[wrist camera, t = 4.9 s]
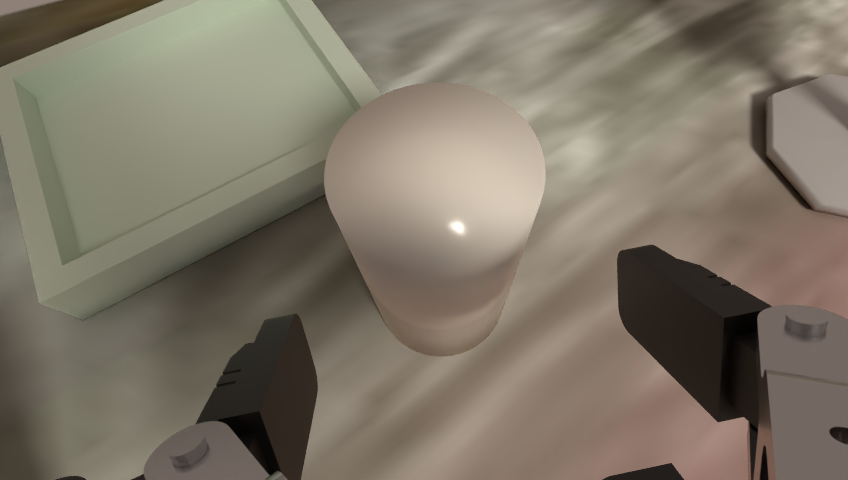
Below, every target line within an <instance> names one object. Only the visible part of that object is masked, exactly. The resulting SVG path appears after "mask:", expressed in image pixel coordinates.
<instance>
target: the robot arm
mask: <svg viewBox="0 0 848 480" xmlns="http://www.w3.org/2000/svg"><path fill="white" fill-rule="evenodd" d="M617 274H618V307H619V314H620V317H621V320H622V323H623V325H624V327H625V328H626V330H627V331H628V332H629V333H630V334H631V335H632V336H633V337H634V338H635V339H636V340H637V341H638V342H639V343H640V344H641V345H642V346H643V347H644V348H645V349H646V350H647V351H648V352H649V353H650V354H651V355H652V356H653V357H654V358H655V359H656V360H657V361H658V362H659V363H660V365H661V366H662V367H663V368H664V369H665V370H666V371H667V372H668V373H669V374H670V375H671V376H672V377H673V378H674V379H675V380H676V381H677V382H678V383H679V384H680V385H681V386H682V387H683V388H684V389H685V390H686V391H687V392H688V393H689V394H690V395H691V396H692V397H693V398H694V399H695V400H696V401H697V402H698V403H699V404H700V405H701V406H702V407H703V408H704V409H705V410H706V411H707V412H708V413H709V414H710V415H711V416H712V417H713V418H714V419H715V420H716V421H717V422H721V421H726V420H731V419H735V418H740V417H745V418H746V419H747V420H748V433H747V449H748V480H848V319H846V318H844V317H842V316H840V315H838V314H835V313H833V312H830V311H827V310H823V309H819V308H814V307H809V306H801V305H780V306H774V307H772V306H770V305H769V304H767V303H765V302H763V301H762V300H760V299H758V298H756V297H755V296H753V295H751V294H749V293H748V292H746V291H744V290H742V289H741V288H739V287H737V286H735V285H731V283H730V282H728V281H727V280H725V279H723V278H721V277H717V275H716V274H715V273H713V272H711V271H709V270H708V269H706V268H704V267H702V266H701V265H697V264H694V263H690V262H687V261H683V260H680V259H676V258H675V257H673V256H671V255H670V254H668V253H666V252H665V251H663V250H661V249H660V248H658V247H656V246H654V245H647V246H642V247H637V248H631V249H626V250H622V251H620V252H619V254H618V258H617ZM317 390H318V385H317V375H316V370H315V366H314V363H313V359H312V356H311V352H310V349H309V346H308V342H307V339H306V336H305V332H304V329H303V325H302V322H301V320H300V318H299V316H298V315H297V314H293V315H288V316H283V317H277V318H272V319H267V320H265V321H264V323H263V325H262V327H261V329H260V331H259V333H258V335H257V337H256V340H255V342H254V343H248V344H245V345H244V346H243V347H242V348H241V349H240V350H239V351H238V352H237V353H236V354H234V355H233V356H232V357H231V358H230V360H229V362H228V364H227V366H226V368H225V370H224V371H223V375H222V376H221V377H220V379H219V381H218V383H217V388H214V390H213V392H212V394H211V396H210V398H209V400H208V402H207V403H206V405H205V407H204V409H203V411H202V413H201V415H200V417H199V419H198V420H197V422H196V424H195V425H193V426H190V427H188V428H185V429H183V430H181V431H180V432H178V433H176V434H174V435H173V436H171V437H170V438H168V439H167V440H166V441H164V442H163V443H162V444H161V445H160V446H159V447H158V448H157V449H156V450H155V451H154V452H153V453H152V455H151V456H150V457H149V459H148V461H147V462H146V465H145V468H144V474H143V475H141V476H139V477H136V478H134V479H132V480H301V475H302V470H303V465H304V460H305V454H306V449H307V444H308V439H309V434H310V429H311V423H312V418H313V413H314V408H315V403H316V398H317ZM56 480H86V479H85V478H83V477H79V476H69V477H63V478H60V479H56ZM603 480H684V479H683V478H682V476H681V475H680V474H679V473H678V471H677V470H676V469H675V467H674V466H673V465H672V463H670V464H665V465H660V466H655V467H651V468H646V469H641V470H637V471H632V472H627V473H623V474H618V475H613V476H609V477H607V478H605V479H603Z"/></svg>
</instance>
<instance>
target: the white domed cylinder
mask: <svg viewBox="0 0 848 480" xmlns="http://www.w3.org/2000/svg"><path fill="white" fill-rule="evenodd" d="M545 178H546V170H545V160H544V156H543V152H542V149H541V146H540V144H539V141H538V139H537V137H536V135H535V133H534V132H533V130H532V128H531V127H530V126H529V124H528V123H527V122H526V121H525V119H524V118H523V117H522V116H521V115H520V114H519V113H518V112H517V111H516V110H515V109H513V108H512V107H511V106H509V105H508V104H507V103H505V102H504V101H502V100H500V99H498V98H497V97H495V96H493V95H491V94H489V93H486V92H484V91H482V90H478V89H475V88H472V87H469V86H464V85H459V84H450V83H425V84H416V85H411V86H406V87H403V88H400V89H396V90H393V91H391V92H388V93H386V94H384V95H381V96H379V97H378V98H376V99H374V100H372V101H370V102H369V103H367V104H366V105H365V106H363V107H362V108H360V109H359V110H358V111H357V112H356V113H355V114H354V115H352V116H351V117H350V118H349V119H348V121H347V122H346V123H345V124H344V125H343V126H342V128H341V129H340V131H339V132H338V134H337V135H336V137H335V139H334V141H333V143H332V145H331V147H330V149H329V152H328V155H327V159H326V164H325V170H324V186H325V193H326V198H327V201H328V204H329V208H330V210H331V212H332V214H333V216H334V218H335V220H336V222H337V224H338V226H339V228H340V230H341V232H342V235H343V237H344V239H345V241H346V243H347V245H348V247H349V249H350V251H351V253H352V255H353V257H354V259H355V261H356V264H357V266H358V268H359V270H360V272H361V274H362V276H363V278H364V280H365V282H366V284H367V286H368V288H369V291H370V293H371V295H372V297H373V299H374V301H375V303H376V305H377V307H378V309H379V311H380V313H381V315H382V317H383V320H384V322H385V324H386V326H387V327H388V329H389V330H390V332H391V333H392V334H393V335H394V336H395V337H396V339H398V340H399V341H400V342H401V343H402V344H404V345H405V346H407V347H408V348H410V349H412V350H414V351H416V352H419V353H422V354H425V355H431V356H452V355H456V354H460V353H463V352H466V351H468V350H470V349H472V348H474V347H476V346H477V345H478V344H480V343H481V342H482V341H484V340H485V339H486V338H487V337H488V336H489V334H490V333H491V332H492V331H493V329H494V328H495V326H496V324H497V323H498V320H499V318H500V315H501V313H502V310H503V307H504V304H505V301H506V299H507V296H508V293H509V290H510V287H511V284H512V282H513V279H514V276H515V273H516V270H517V267H518V265H519V262H520V259H521V256H522V253H523V250H524V248H525V245H526V242H527V239H528V236H529V234H530V231H531V228H532V225H533V222H534V219H535V217H536V214H537V211H538V208H539V205H540V202H541V200H542V196H543V192H544V188H545Z"/></svg>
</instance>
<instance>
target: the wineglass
mask: <svg viewBox="0 0 848 480" xmlns="http://www.w3.org/2000/svg"><path fill="white" fill-rule="evenodd" d="M766 156H767V157H768V158H769V159H770V160H771V161H772V163H773V164H774V165H775V166H776V167H777V168H778V169H779V171H780V172H781V173H782V174H783V175H784V176H785V178H786V179H787V180H788V181H789V182H790V183H791V184H792V186H793V187H794V188H795V189H796V190H797V191H798V193H799V194H800V195H801V196H802V197H803V198H804V199H805V201H806V202H807V203H808V204H809V205H810V206H811V208H812V209H813V210H814V211H819V212H824V213H829V214H833V215H838V216H843V217H848V77H846V76H840V75H834V74H828V75H825V76H822V77H819V78H816V79H814V80H811V81H808V82H805V83H802V84H800V85H797V86H794V87H791V88H788V89H786V90H783V91H780V92H777V93H774V94H772V95H771V96H769V97H768V98H767V100H766Z"/></svg>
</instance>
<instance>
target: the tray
mask: <svg viewBox="0 0 848 480" xmlns="http://www.w3.org/2000/svg"><path fill="white" fill-rule="evenodd" d="M381 95H382V94H381V93H380V92H379V90H378V89H377V88H376V86H375V85H374V84H373V82H372V81H371V80H370V78H369V77H368V76H367V74H366V73H365V72H364V70H363V69H362V68H361V66H360V65H359V64H358V62H357V61H356V59H355V58H354V57H353V55H352V54H351V53H350V51H349V50H348V49H347V47H346V46H345V45H344V43H343V42H342V41H341V39H340V38H339V37H338V35H337V34H336V33H335V31H334V30H333V29H332V27H331V26H330V24H329V23H328V22H327V20H326V19H325V18H324V16H323V15H322V14H321V12H320V11H319V10H318V8H317V7H316V6H315V4H314V3H313V2H312V0H164V1H162V2H160V3H157V4H155V5H152V6H150V7H147V8H145V9H142V10H140V11H137V12H135V13H133V14H130V15H128V16H125V17H123V18H120V19H118V20H115V21H113V22H110V23H108V24H106V25H103V26H101V27H98V28H96V29H93V30H91V31H88V32H86V33H83V34H81V35H79V36H76V37H74V38H71V39H69V40H66V41H64V42H61V43H59V44H56V45H54V46H52V47H49V48H47V49H44V50H42V51H39V52H37V53H34V54H32V55H29V56H27V57H25V58H22V59H20V60H17V61H15V62H12V63H10V64H7V65H5V66H2V67H0V136H1V141H2V145H3V149H4V154H5V158H6V162H7V167H8V171H9V175H10V180H11V184H12V188H13V193H14V197H15V201H16V206H17V210H18V214H19V219H20V223H21V227H22V232H23V236H24V240H25V245H26V249H27V253H28V258H29V262H30V267H31V271H32V275H33V280H34V284H35V288H36V293H37V297H38V301H39V304H41V305H44V306H47V307H49V308H52V309H55V310H57V311H60V312H63V313H65V314H68V315H71V316H73V317H76V318H79V319H81V320H84V319H86V318H88V317H90V316H92V315H94V314H96V313H98V312H100V311H102V310H104V309H106V308H108V307H109V306H111V305H113V304H115V303H117V302H119V301H121V300H123V299H125V298H127V297H129V296H131V295H133V294H135V293H136V292H138V291H140V290H142V289H144V288H146V287H148V286H150V285H152V284H154V283H156V282H158V281H160V280H161V279H163V278H165V277H167V276H169V275H171V274H173V273H175V272H177V271H179V270H181V269H183V268H185V267H186V266H188V265H190V264H192V263H194V262H196V261H198V260H200V259H202V258H204V257H206V256H208V255H210V254H211V253H213V252H215V251H217V250H219V249H221V248H223V247H225V246H227V245H229V244H231V243H233V242H235V241H236V240H238V239H240V238H242V237H244V236H246V235H248V234H250V233H252V232H254V231H256V230H258V229H260V228H261V227H263V226H265V225H267V224H269V223H271V222H273V221H275V220H277V219H279V218H281V217H283V216H285V215H286V214H288V213H290V212H292V211H294V210H296V209H298V208H300V207H302V206H304V205H306V204H308V203H310V202H311V201H313V200H315V199H317V198H319V197H321V196H323V195H325V194H326V193H325V186H324V170H325V164H326V159H327V155H328V152H329V149H330V147H331V145H332V143H333V141H334V139H335V137H336V135H337V134H338V132H339V131H340V129H341V128H342V126H343V125H344V124H345V123H346V122H347V121H348V119H349V118H350V117H351V116H352V115H354V114H355V113H356V112H357V111H358V110H359V109H360V108H362V107H363V106H365V105H366V104H367V103H369V102H370V101H372V100H374V99H376V98H378V97H379V96H381Z"/></svg>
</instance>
